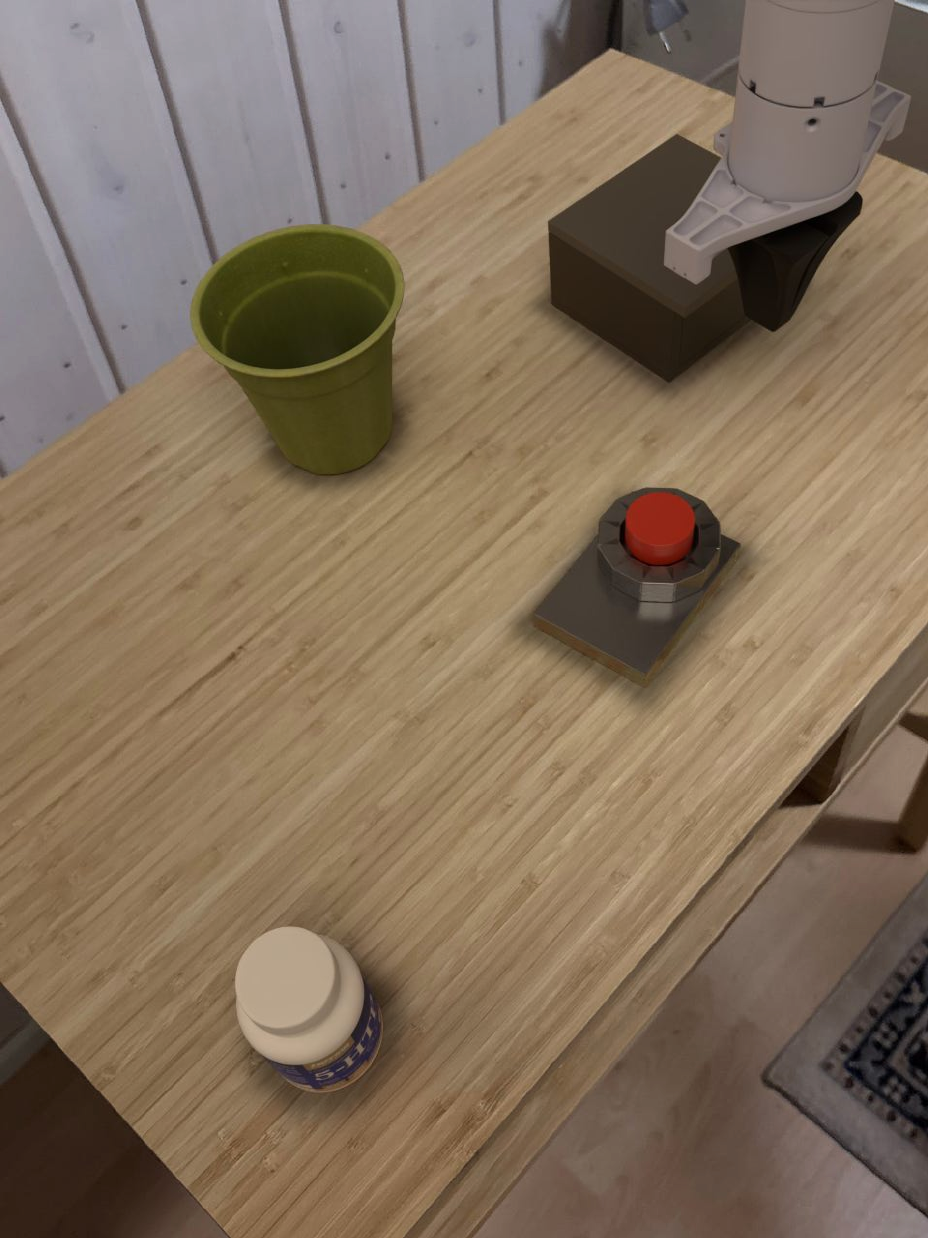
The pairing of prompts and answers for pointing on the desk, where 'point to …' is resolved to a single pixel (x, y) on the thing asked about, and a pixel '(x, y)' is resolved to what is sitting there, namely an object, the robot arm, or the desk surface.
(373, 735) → the desk surface
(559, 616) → the button block
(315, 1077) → the pill bottle
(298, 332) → the plant pot
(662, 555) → the button
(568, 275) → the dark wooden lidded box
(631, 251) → the lid
